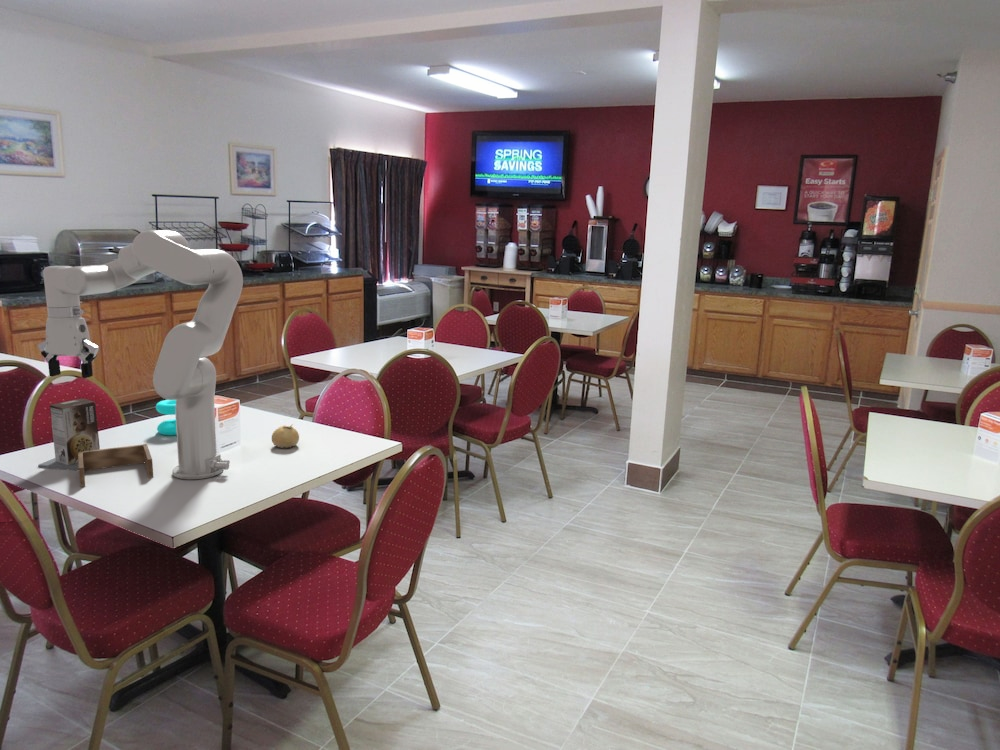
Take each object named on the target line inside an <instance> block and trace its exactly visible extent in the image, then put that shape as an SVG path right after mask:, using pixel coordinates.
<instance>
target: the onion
mask: <svg viewBox="0 0 1000 750" xmlns="http://www.w3.org/2000/svg"><path fill="white" fill-rule="evenodd" d="M293 425H294V424H291V425H286V424H285V425H281V426H279V427H278V428H276V429H275V430H274V431H273V432H272V435H271V442H272V443H273V445H274V446H275V445H276V446H275V447H277V446H278V447H277V448H279V447H290V448H292V447H291V446H293V447H294V445H295V446H296V445H297V444H299V440H300V434H299V432H298V431H297V429H295V428H294V427H293Z"/></svg>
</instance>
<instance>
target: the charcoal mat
mask: <svg viewBox="0 0 1000 750" xmlns="http://www.w3.org/2000/svg"><path fill="white" fill-rule="evenodd" d="M38 467H39V468H44V467H49V468H48V469H55V468H59V469H58V470H66V469H69V471H77V470H79V463H76V464H72V465H66V464H63V463H59V462H56V459H55V457H54V458H52V459H49V460H47V461H44V462H42V463H39V464H38Z"/></svg>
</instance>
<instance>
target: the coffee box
mask: <svg viewBox="0 0 1000 750" xmlns="http://www.w3.org/2000/svg"><path fill="white" fill-rule="evenodd" d="M96 409H97V408H96V402H95V401H93V400H90V399H86V398H78V399H77V398H76V399H72V400H69V401H63V402H58V403H52V404H49V411H50V420H51V429H52V438H53V439H52V440H53V447H54V448H53V449H54V458H55V459H56V462H59V463H63V464H66V465H72V464H76V463H79V460H78V452H82V451H91V450H99V449H101V448H100V447H101V446H100V439H99V436H100V435H99V427H98V418H97V410H96Z"/></svg>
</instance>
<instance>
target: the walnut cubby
mask: <svg viewBox="0 0 1000 750" xmlns="http://www.w3.org/2000/svg"><path fill="white" fill-rule="evenodd" d="M78 460H79V471H78V473H79V474H78V475H79V486H80V488H83V487H82V486H85V487H86V480H85V479H86V477H85V476H86V475H85V471H90V470H89V469H91V470H98V469H97V468H99V469H104V468H103V467H107V468H112V466H115V467H122V466H121V465H123V466H129V465H128V464H131V465H137V463H139V464H144V466H145V469H146V472H147V476H148V478H149V479H151V478H154V468H153V467H154V466H153V457H152V455H151V452H150V448H149V446H148V444H147V443H146V444H145V443H144V444H136V445H134V444H133V445H128V446H119V447H118V446H117V447H110V448H109V447H108V448H100V449H99V450H91V451H82V452H78ZM144 462H145V463H144Z"/></svg>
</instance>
